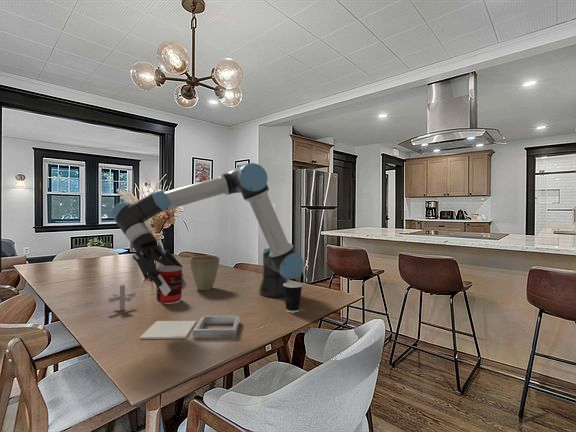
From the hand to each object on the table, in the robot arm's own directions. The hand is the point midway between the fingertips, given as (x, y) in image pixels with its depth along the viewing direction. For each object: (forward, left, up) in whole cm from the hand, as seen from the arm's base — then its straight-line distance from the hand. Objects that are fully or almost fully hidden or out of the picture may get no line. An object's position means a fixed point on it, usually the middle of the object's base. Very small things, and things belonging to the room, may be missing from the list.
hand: (177, 289), depth 102 cm
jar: (+13, -35, -14) cm, 40 cm away
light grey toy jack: (+29, -24, -14) cm, 40 cm away
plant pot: (+3, -57, -14) cm, 58 cm away
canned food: (+3, -1, -4) cm, 5 cm away
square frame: (-13, -2, -14) cm, 19 cm away
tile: (+3, -2, -14) cm, 14 cm away
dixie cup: (-40, -21, -14) cm, 47 cm away
